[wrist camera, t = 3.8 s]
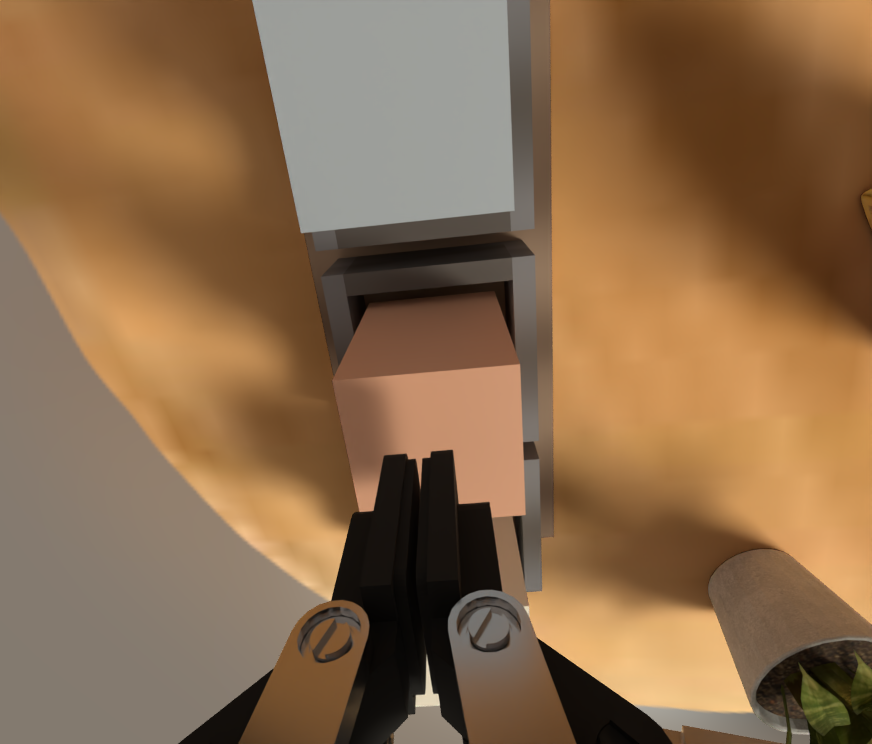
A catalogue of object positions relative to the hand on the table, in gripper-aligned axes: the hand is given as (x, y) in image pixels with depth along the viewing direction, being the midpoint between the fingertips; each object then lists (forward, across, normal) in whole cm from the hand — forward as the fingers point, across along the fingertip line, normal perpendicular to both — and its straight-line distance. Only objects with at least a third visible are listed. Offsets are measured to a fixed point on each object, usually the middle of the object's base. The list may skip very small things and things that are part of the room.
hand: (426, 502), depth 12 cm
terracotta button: (+9, 0, 0) cm, 9 cm away
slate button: (+9, 0, -9) cm, 12 cm away
